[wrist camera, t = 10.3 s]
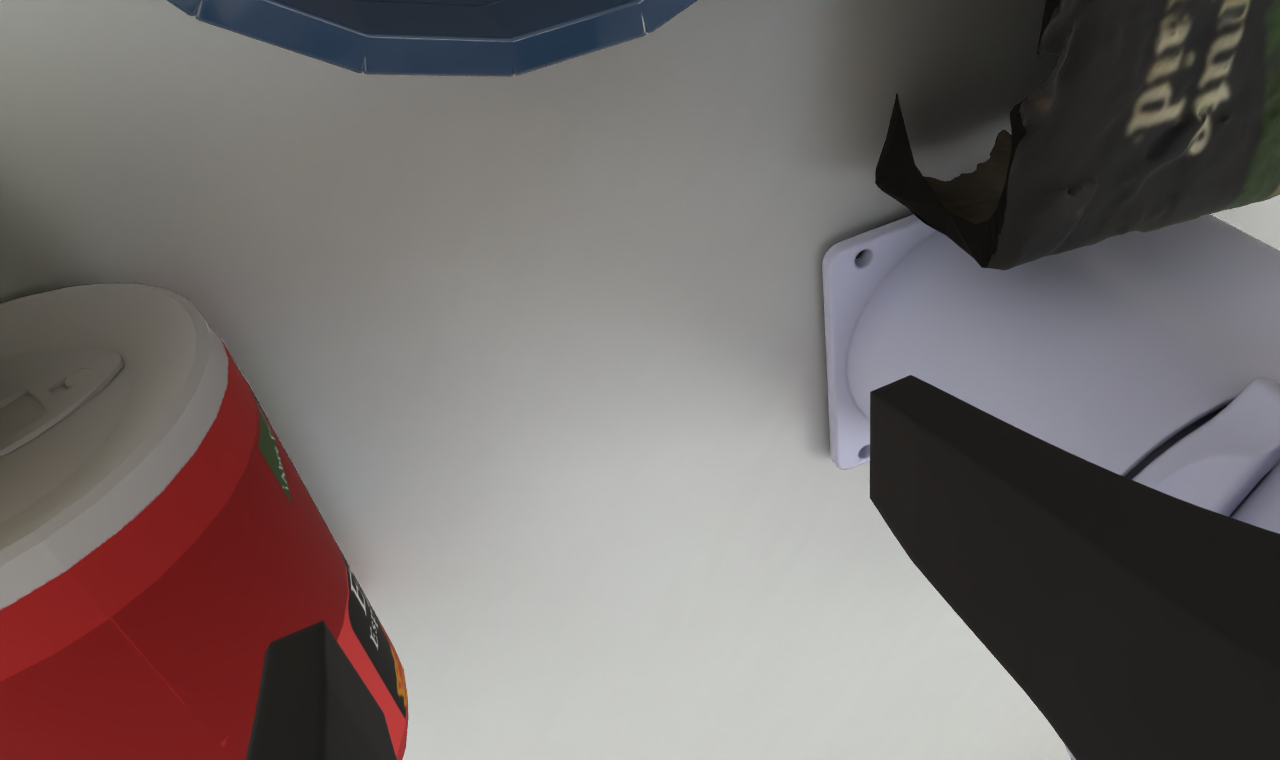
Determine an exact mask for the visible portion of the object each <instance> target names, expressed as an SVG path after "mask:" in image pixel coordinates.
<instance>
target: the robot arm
mask: <svg viewBox="0 0 1280 760" xmlns="http://www.w3.org/2000/svg"><path fill="white" fill-rule="evenodd" d="M862 250H864V253H863V254H862V255H861V257H860V258H858V259H856V260H855V258H856V256H857V255H858V253H859V252H861V251H862ZM822 271H823V294H824V316H825V338H826V361H827V383H828V406H829V428H830V450H831V459H832V461H833V462H834V464H835V465H836V466H837V467H838V468H840V469H844V470H846V469H850V468H853V467H855V466H858V465H860V464H863V463H865V462H867V461H870V499H871V500H872V502H873V503H874V505H875V506H876V508H877V509H878V511H879V513H880V514H881V516H882V517H883V519H884V520H885V522H886V523H887V525H888V526H889V528H890V530H891V531H892V533H893V534H894V536H895V537H896V538H897V540H898V541H899V543H900V544H901V546H902V547H903V549H904V550H905V551H906V553H907V554H908V556H909V557H910V559H911V560H912V561H913V563H914V564H915V565H916V566H917V567H918V569H919V570H920V571H921V572H922V573H923V575H924V576H925V577H926V578H927V579H928V580H929V582H930V583H931V584H932V585H933V586H934V587H935V589H936V590H937V591H938V592H939V593H940V594H941V596H942V597H943V598H944V599H945V600H946V601H947V603H948V604H949V605H950V606H951V607H952V608H953V610H954V611H955V612H956V613H957V614H958V615H959V616H960V618H961V619H962V620H963V621H964V622H965V623H966V624H967V626H968V627H969V628H970V629H971V630H972V631H973V633H974V634H975V635H976V636H977V637H978V638H979V639H980V641H981V642H982V643H983V644H984V645H985V646H986V647H987V649H988V650H989V651H990V652H991V653H992V654H993V655H994V657H995V658H996V659H997V660H998V661H999V662H1000V664H1001V665H1002V666H1003V667H1004V668H1005V669H1006V670H1007V672H1008V673H1009V674H1010V675H1011V676H1012V677H1013V678H1014V680H1015V681H1016V682H1017V683H1018V684H1019V685H1020V687H1021V688H1022V689H1023V690H1024V691H1025V692H1026V694H1027V695H1028V696H1029V697H1030V699H1031V700H1032V701H1033V702H1034V704H1035V705H1036V706H1037V707H1038V709H1039V710H1040V711H1041V712H1042V714H1043V715H1044V716H1045V717H1046V719H1047V720H1048V721H1049V723H1050V724H1051V725H1052V727H1053V728H1054V730H1055V731H1056V732H1057V734H1058V735H1059V737H1060V738H1061V739H1062V741H1063V742H1064V744H1065V747H1066V749H1067V751H1068V753H1069V756H1070V758H1071V760H1280V251H1279V250H1277V249H1275V248H1273V247H1271V246H1269V245H1267V244H1265V243H1263V242H1261V241H1260V240H1258V239H1256V238H1254V237H1252V236H1250V235H1248V234H1246V233H1244V232H1242V231H1241V230H1239V229H1237V228H1235V227H1233V226H1231V225H1229V224H1227V223H1225V222H1223V221H1222V220H1220V219H1218V218H1216V217H1214V216H1212V215H1210V214H1207V215H1203V216H1201V217H1199V218H1197V219H1194V220H1190V221H1187V222H1183V223H1178V224H1174V225H1171V226H1167V227H1164V228H1161V229H1159V230H1155V231H1151V232H1146V233H1143V232H1139V231H1133V232H1128V233H1126V234H1123V235H1117V236H1113V237H1109V238H1107V239H1105V240H1103V241H1101V242H1099V243H1096V244H1094V245H1090V246H1085V247H1081V248H1078V249H1074V250H1071V251H1066V252H1063V253H1060V254H1056V255H1049V256H1045V257H1042V258H1039V259H1037V260H1034V261H1031V262H1028V263H1024V264H1022V265H1019V266H1016V267H1013V268H1011V269H1009V270H999V269H991V268H982V267H981V266H980V265H979V264H978V263H977V262H976V261H975V259H974V258H972V257H971V256H970V255H969V254H968V253H966V252H965V251H964V250H963V249H962V248H960V247H959V246H958V245H957V244H956V243H954V242H953V241H952V240H951V239H950V238H948V237H947V236H946V235H944V234H942V233H940V232H938V231H936V230H935V229H933V228H931V227H929V226H928V225H926V224H925V223H923V222H922V221H921V220H920V219H918V218H917V217H916V216H915V215H914V214H913V215H911V216H908V217H905V218H902V219H900V220H897V221H894V222H892V223H889V224H886V225H883V226H881V227H878V228H875V229H873V230H870V231H867V232H864V233H862V234H859V235H856V236H854V237H851V238H848V239H845V240H843V241H840V242H838V243H836V244H834V245H833V246H832V247H831V248H830V249H829V250H828V251H827V252H826V254H825V256H824V258H823V263H822ZM245 760H397V758H396V754H395V751H394V747H393V744H392V740H391V737H390V733H389V730H388V726H387V722H386V719H385V715H384V712H383V711H382V709H381V708H380V706H379V705H378V703H377V702H376V700H375V699H374V697H373V696H372V694H371V693H370V691H369V689H368V688H367V686H366V685H365V683H364V682H363V680H362V679H361V677H360V676H359V674H358V673H357V671H356V670H355V668H354V667H353V665H352V663H351V662H350V660H349V659H348V657H347V656H346V654H345V653H344V651H343V650H342V648H341V647H340V645H339V644H338V642H337V641H336V639H335V638H334V636H333V634H332V633H331V631H330V630H329V628H328V627H327V625H326V624H325V622H324V621H320V622H318V623H316V624H313V625H311V626H308V627H306V628H304V629H301V630H299V631H296V632H294V633H292V634H289V635H287V636H284V637H282V638H280V639H277V640H275V641H272V642H271V643H270V644H269V646H268V648H267V650H266V651H265V656H264V662H263V669H262V675H261V681H260V687H259V693H258V699H257V704H256V710H255V715H254V720H253V725H252V730H251V735H250V740H249V744H248V749H247V754H246V758H245Z"/></svg>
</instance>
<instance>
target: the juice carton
mask: <svg viewBox="0 0 1280 760" xmlns="http://www.w3.org/2000/svg"><path fill="white" fill-rule="evenodd" d="M1047 53H1051V54H1055V55H1057V56H1058V59H1059V60H1058V63H1057V65H1056V67H1055V69H1054V70H1053V72H1052V73H1051V74H1050V76H1049V77H1048V78H1047V79H1046V81H1045V82H1044V83H1043V84H1042V85H1041V87H1040V88H1039V89H1038V90H1037V91H1035V92H1034V93H1033V94H1032V95H1030V96H1029V97H1027V98H1026V99H1024V100H1023V101H1021V102H1019V103H1018V104H1016V105H1015V106H1014V107H1013V108H1012V109H1011V111H1010V121H1011V128H1012V134H1010V133H1009V132H1007V131H1006V130H1002V131H1001V132H999V133H998V136H997V138H996V142H995V145H994V148H993V149H992V151H991V153H990V158H989V159H988V160H987V161H986V162H984V163H980V164H977V169H976V171H975V172H973V173H964V174H961V175H960V176H958V177H956V178H954V179H953V180H951V181H946V182H945V181H940V180H938V179H935V178H931V177H925V176H923V175H922V174H921V173H920V171H919V170H918V168H917V167H916V165H915V163H914V159H913V156H912V152H911V148H910V144H909V140H908V136H907V132H906V128H905V125H904V121H903V117H902V113H901V109H900V104H899V99H898V94H896V98H895V103H894V107H893V111H892V115H891V119H890V124H889V128H888V132H887V136H886V140H885V143H884V146H883V149H882V152H881V155H880V158H879V161H878V164H877V167H876V172H875V174H876V181H875V183H876V184H877V186H878V187H879V188H880V189H881V190H882V191H883V192H885V193H886V194H888V195H890V196H891V197H893V198H894V199H896V200H897V201H899V202H900V203H902V204H903V205H905V206H906V207H907V208H908V209H909V210H911V211H912V212H913V214H914V215H915V216H916V217H917V218H918V219H920V220H921V221H922V222H923V223H925V224H926V225H928V226H929V227H931V228H933V229H935V230H936V231H938V232H940V233H942V234H944V235H946V236H947V237H948V238H950V239H951V240H952V241H953V242H954V243H956V244H957V245H958V246H959V247H960V248H962V249H963V250H964V251H965V252H966V253H968V254H969V255H970V256H971V257H972V258H974V259H975V261H976V262H977V263H978V264H979V265H980V266H981V267H982V268H991V269H999V270H1009V269H1011V268H1013V267H1016V266H1019V265H1022V264H1024V263H1028V262H1031V261H1034V260H1037V259H1039V258H1042V257H1045V256H1049V255H1056V254H1060V253H1063V252H1066V251H1071V250H1074V249H1078V248H1081V247H1085V246H1090V245H1094V244H1096V243H1099V242H1101V241H1103V240H1105V239H1107V238H1109V237H1113V236H1117V235H1123V234H1126V233H1128V232H1133V231H1139V232H1143V233H1146V232H1151V231H1155V230H1159V229H1161V228H1164V227H1167V226H1171V225H1174V224H1178V223H1183V222H1187V221H1190V220H1194V219H1197V218H1199V217H1201V216H1203V215H1207V214H1212V213H1216V212H1219V211H1222V210H1227V209H1232V208H1236V207H1241V206H1245V205H1248V204H1251V203H1255V202H1260V201H1264V200H1267V199H1270V198H1272V197H1275V196H1277V195H1280V0H1046V4H1045V10H1044V15H1043V21H1042V27H1041V33H1040V39H1039V45H1038V51H1037V54H1038V56H1039V57H1041V56H1043V55H1044V54H1047Z"/></svg>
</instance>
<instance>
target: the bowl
mask: <svg viewBox="0 0 1280 760" xmlns="http://www.w3.org/2000/svg"><path fill="white" fill-rule="evenodd" d="M167 1H168V2H170V3H171V4H173V5H174V6H176V7H177V8H179V9H180V10H182V11H183V12H185V13H186V14H188V15H190V16H195V17H196V19H198V20H199V21H202V22H205V23H208V24H211V25H214V26H217V27H220V28H223V29H226V30H229V31H232V32H235V33H238V34H241V35H244V36H247V37H250V38H253V39H257V40H260V41H263V42H266V43H269V44H272V45H275V46H278V47H281V48H284V49H287V50H290V51H293V52H296V53H299V54H302V55H305V56H308V57H311V58H314V59H317V60H320V61H323V62H326V63H329V64H332V65H335V66H338V67H342V68H345V69H348V70H351V71H354V72H357V73H362V72H363V73H365V74H369V75H426V76H483V77H511V76H513V74H514V75H521V74H524V73H527V72H530V71H534V70H537V69H540V68H543V67H546V66H550V65H553V64H556V63H559V62H562V61H566V60H569V59H572V58H575V57H579V56H582V55H585V54H588V53H591V52H595V51H598V50H601V49H604V48H608V47H611V46H614V45H617V44H620V43H624V42H627V41H630V40H633V39H637V38H640V37H643V36H645V35H646V32H647V33H651V32H653V31H654V30H656V29H657V28H658V27H660V26H661V25H663V24H664V23H666V22H667V21H669V20H670V19H671V18H673V17H674V16H676V15H677V14H679V13H680V12H681V11H683V10H684V9H686V8H687V7H689V6H690V5H691V4H693V3H694V2H696V1H697V0H167Z"/></svg>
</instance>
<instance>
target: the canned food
mask: <svg viewBox="0 0 1280 760" xmlns="http://www.w3.org/2000/svg"><path fill="white" fill-rule="evenodd" d="M320 621H324V622H325V624H326V625H327V627H328V628H329V630H330V631H331V633H332V634H333V636H334V638H335V639H336V641H337V642H338V644H339V645H340V647H341V648H342V650H343V651H344V653H345V654H346V656H347V657H348V659H349V660H350V662H351V663H352V665H353V667H354V668H355V670H356V671H357V673H358V674H359V676H360V677H361V679H362V680H363V682H364V683H365V685H366V686H367V688H368V689H369V691H370V693H371V694H372V696H373V697H374V699H375V700H376V702H377V703H378V705H379V706H380V708H381V709H382V711H383V712H384V715H385V719H386V722H387V726H388V730H389V733H390V737H391V740H392V744H393V747H394V751H395V754H396V758H397V760H402V759H403V755H404V752H405V748H406V739H407V727H408V697H407V690H406V683H405V676H404V669H403V667H402V665H401V662H400V660H399V658H398V655H397V653H396V651H395V648H394V646H393V644H392V643H391V641H390V639H389V637H388V635H387V634H386V632H385V630H384V628H383V626H382V625H381V623H380V621H379V619H378V617H377V616H376V614H375V612H374V610H373V608H372V607H371V605H370V603H369V601H368V599H367V598H366V596H365V594H364V592H363V590H362V589H361V587H360V585H359V583H358V581H357V580H356V578H355V576H354V574H353V572H352V571H351V569H350V567H349V565H348V563H347V561H346V560H345V558H344V556H343V554H342V552H341V551H340V549H339V547H338V545H337V543H336V542H335V540H334V538H333V536H332V534H331V533H330V531H329V529H328V527H327V525H326V524H325V522H324V520H323V518H322V516H321V515H320V513H319V511H318V509H317V507H316V506H315V504H314V502H313V500H312V498H311V497H310V495H309V493H308V491H307V489H306V488H305V486H304V484H303V482H302V480H301V478H300V477H299V475H298V473H297V471H296V469H295V468H294V466H293V464H292V462H291V460H290V459H289V457H288V455H287V453H286V451H285V450H284V448H283V446H282V444H281V442H280V441H279V439H278V437H277V435H276V433H275V432H274V430H273V428H272V426H271V424H270V423H269V421H268V419H267V417H266V415H265V414H264V412H263V410H262V408H261V406H260V405H259V403H258V401H257V399H256V397H255V396H254V394H253V392H252V390H251V388H250V386H249V385H248V383H247V382H246V380H245V379H244V377H243V376H242V375H241V373H240V371H239V370H238V368H237V366H236V364H235V363H234V361H233V359H232V357H231V355H230V354H229V352H228V350H227V348H226V347H225V345H224V343H223V341H222V339H221V338H220V337H219V336H218V335H217V334H216V333H215V332H214V331H213V330H212V329H211V328H210V326H209V325H208V323H207V321H206V319H205V318H204V316H203V314H202V313H201V312H200V311H199V310H198V309H197V308H196V307H195V306H194V305H193V304H192V303H191V302H190V301H189V300H188V299H186V298H184V297H182V296H180V295H178V294H176V293H174V292H171V291H169V290H167V289H164V288H159V287H154V286H148V285H143V284H138V283H101V284H92V285H83V286H74V287H67V288H62V289H57V290H53V291H48V292H44V293H39V294H34V295H30V296H25V297H21V298H18V299H15V300H11V301H8V302H5V303H2V304H0V760H245V758H246V754H247V749H248V744H249V740H250V735H251V730H252V725H253V720H254V715H255V710H256V704H257V699H258V693H259V687H260V681H261V675H262V669H263V662H264V656H265V651H266V650H267V648H268V646H269V644H270V643H271V642H272V641H275V640H277V639H280V638H282V637H284V636H287V635H289V634H292V633H294V632H296V631H299V630H301V629H304V628H306V627H308V626H311V625H313V624H316V623H318V622H320Z"/></svg>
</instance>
